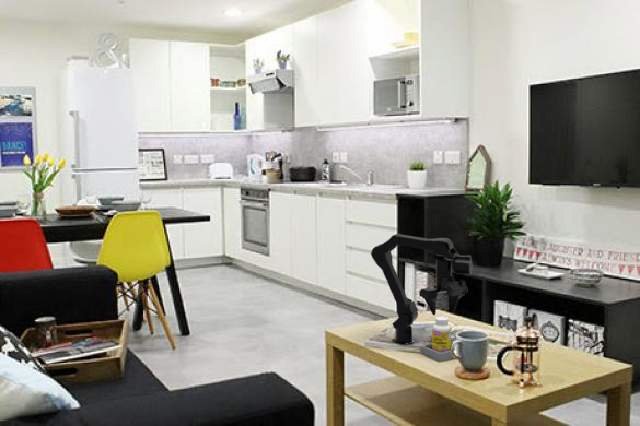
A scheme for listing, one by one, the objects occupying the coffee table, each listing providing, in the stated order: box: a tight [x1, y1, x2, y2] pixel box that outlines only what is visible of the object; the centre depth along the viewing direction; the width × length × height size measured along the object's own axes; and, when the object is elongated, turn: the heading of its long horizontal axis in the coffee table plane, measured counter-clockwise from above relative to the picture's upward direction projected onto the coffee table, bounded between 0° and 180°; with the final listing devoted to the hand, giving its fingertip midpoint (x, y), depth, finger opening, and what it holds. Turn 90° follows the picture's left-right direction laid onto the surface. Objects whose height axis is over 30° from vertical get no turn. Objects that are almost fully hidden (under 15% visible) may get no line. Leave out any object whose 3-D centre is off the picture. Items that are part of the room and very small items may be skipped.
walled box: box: [419, 343, 456, 363], centre depth 246 cm, size 11×11×3 cm
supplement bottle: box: [431, 315, 452, 353], centre depth 245 cm, size 7×7×13 cm
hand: (443, 313), depth 254 cm, fingers open, 9 cm apart
